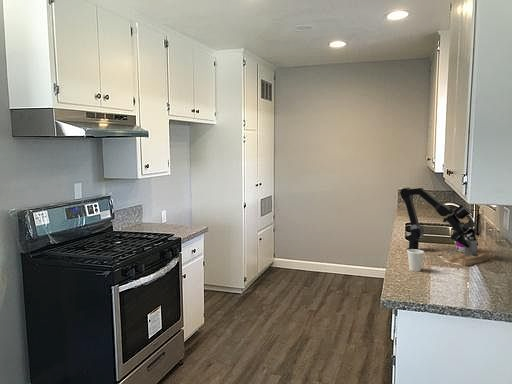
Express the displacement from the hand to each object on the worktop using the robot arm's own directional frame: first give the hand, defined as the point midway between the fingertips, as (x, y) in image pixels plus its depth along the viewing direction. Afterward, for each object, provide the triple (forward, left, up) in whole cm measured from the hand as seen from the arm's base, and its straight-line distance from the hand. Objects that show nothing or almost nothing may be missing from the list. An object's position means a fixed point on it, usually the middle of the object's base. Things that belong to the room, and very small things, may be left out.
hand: (473, 246), depth 242 cm
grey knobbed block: (-1, -1, -7) cm, 8 cm away
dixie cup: (+19, -40, -8) cm, 45 cm away
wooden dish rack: (+2, -6, -8) cm, 10 cm away
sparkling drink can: (-23, +5, -8) cm, 25 cm away
